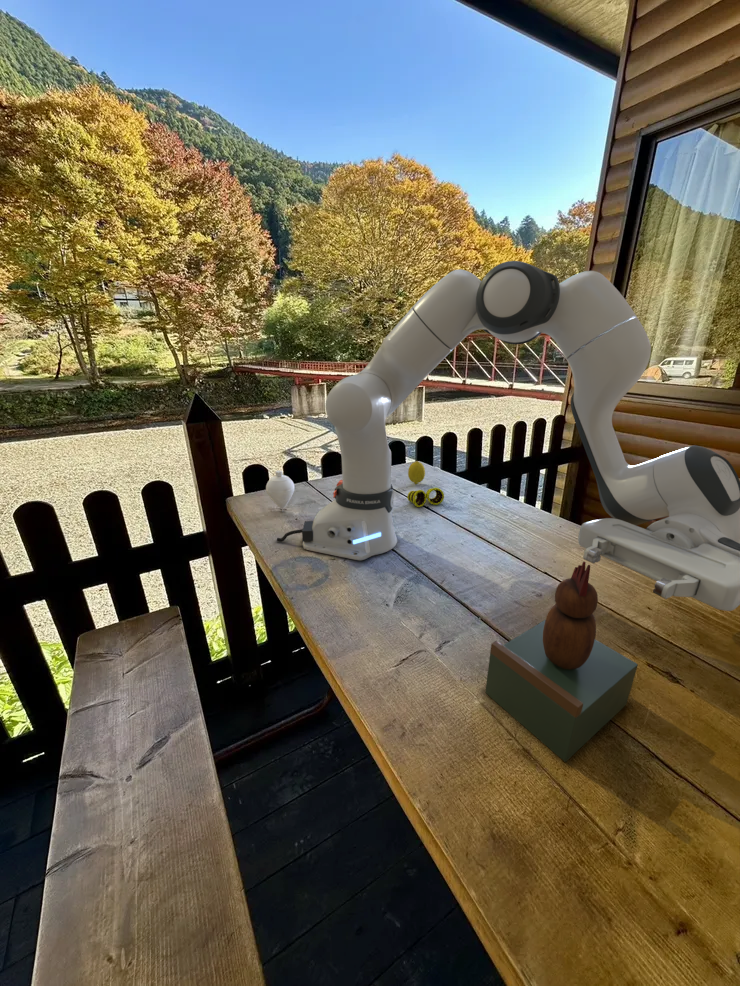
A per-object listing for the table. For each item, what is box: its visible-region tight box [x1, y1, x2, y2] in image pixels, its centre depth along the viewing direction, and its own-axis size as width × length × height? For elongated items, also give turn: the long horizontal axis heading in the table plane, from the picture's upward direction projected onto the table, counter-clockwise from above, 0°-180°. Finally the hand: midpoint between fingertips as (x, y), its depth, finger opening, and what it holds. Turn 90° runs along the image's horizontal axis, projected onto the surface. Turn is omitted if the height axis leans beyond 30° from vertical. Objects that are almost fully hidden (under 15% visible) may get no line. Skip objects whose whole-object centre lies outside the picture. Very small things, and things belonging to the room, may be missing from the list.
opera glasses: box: [407, 487, 445, 508], centre depth 119 cm, size 10×5×5 cm, turn 108°
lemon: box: [407, 460, 426, 485], centre depth 134 cm, size 6×6×8 cm
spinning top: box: [265, 469, 295, 512], centre depth 113 cm, size 8×8×12 cm
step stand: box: [485, 619, 639, 763], centre depth 54 cm, size 12×14×9 cm
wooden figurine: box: [543, 561, 599, 669], centre depth 50 cm, size 7×6×15 cm
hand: (621, 572), depth 53 cm, fingers open, 8 cm apart
